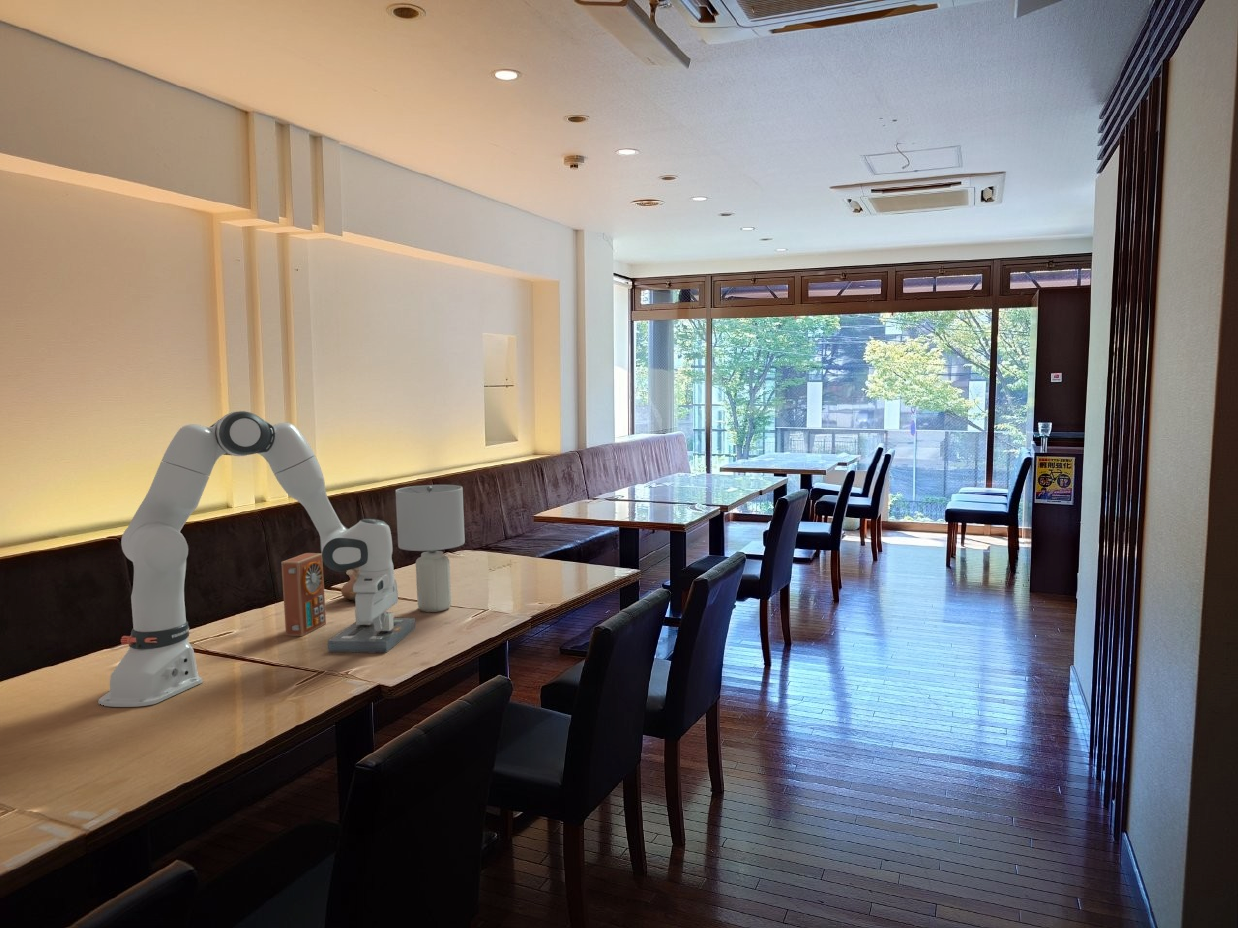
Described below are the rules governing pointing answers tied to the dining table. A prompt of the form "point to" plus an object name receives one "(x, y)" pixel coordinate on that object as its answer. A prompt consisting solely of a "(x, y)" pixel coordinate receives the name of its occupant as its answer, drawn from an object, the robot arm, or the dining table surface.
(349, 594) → the ceramic jug
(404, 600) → the dining table surface
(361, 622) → the block
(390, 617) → the block
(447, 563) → the lamp
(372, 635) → the breaker box
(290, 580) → the control panel
